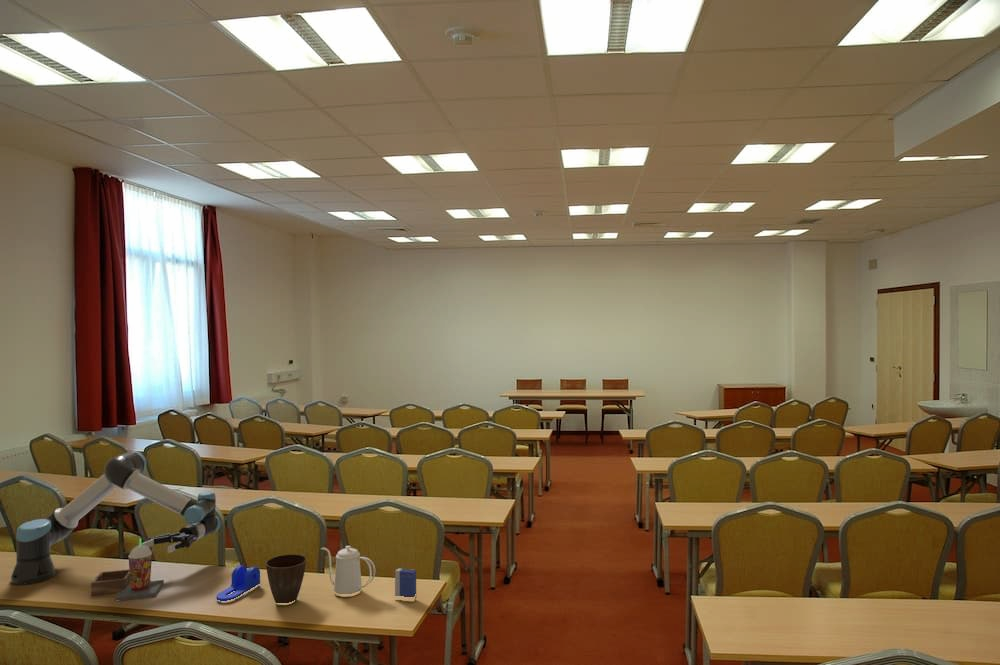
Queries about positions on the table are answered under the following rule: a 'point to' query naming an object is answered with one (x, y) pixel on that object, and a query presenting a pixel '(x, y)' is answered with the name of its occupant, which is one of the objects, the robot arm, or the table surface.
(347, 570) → the coffeepot
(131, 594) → the mat
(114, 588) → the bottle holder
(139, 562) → the smoothie
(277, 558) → the plant pot
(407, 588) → the walkman
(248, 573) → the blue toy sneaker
